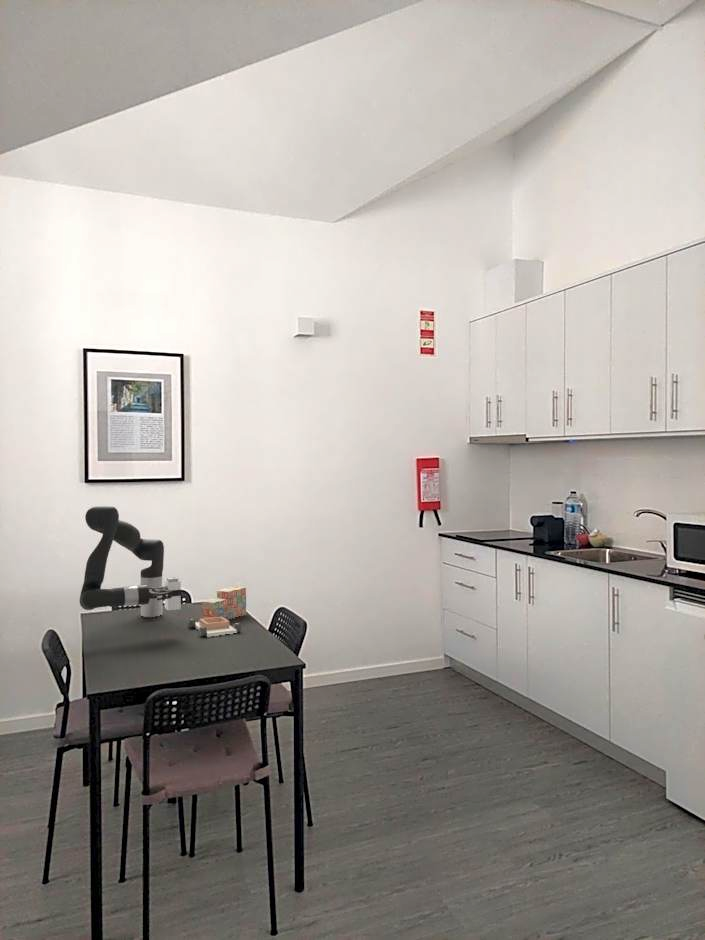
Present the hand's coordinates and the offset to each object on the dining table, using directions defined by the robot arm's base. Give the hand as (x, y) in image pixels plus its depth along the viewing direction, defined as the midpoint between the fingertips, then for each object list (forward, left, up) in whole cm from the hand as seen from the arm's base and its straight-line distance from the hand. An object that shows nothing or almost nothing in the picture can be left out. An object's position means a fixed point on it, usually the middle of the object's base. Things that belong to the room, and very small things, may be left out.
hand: (179, 591), depth 293 cm
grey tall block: (0, -3, -7) cm, 7 cm away
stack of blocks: (-17, +25, -17) cm, 35 cm away
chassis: (0, +14, -17) cm, 22 cm away
